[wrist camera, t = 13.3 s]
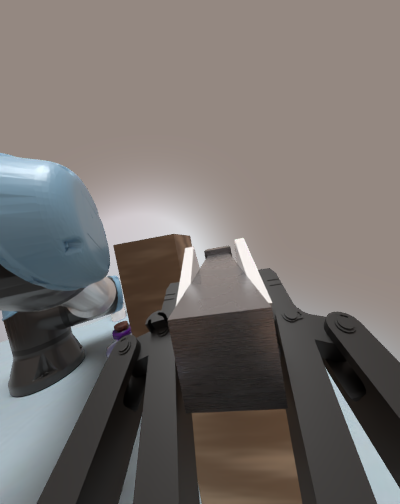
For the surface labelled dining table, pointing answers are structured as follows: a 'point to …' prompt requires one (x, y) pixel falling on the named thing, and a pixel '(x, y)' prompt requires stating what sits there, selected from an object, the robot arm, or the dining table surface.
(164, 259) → the post
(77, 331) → the dining table surface
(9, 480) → the dining table surface
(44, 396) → the dining table surface
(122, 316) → the beige pointed piece
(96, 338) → the dining table surface
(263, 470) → the oak block
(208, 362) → the grey long bar
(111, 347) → the potion bottle
